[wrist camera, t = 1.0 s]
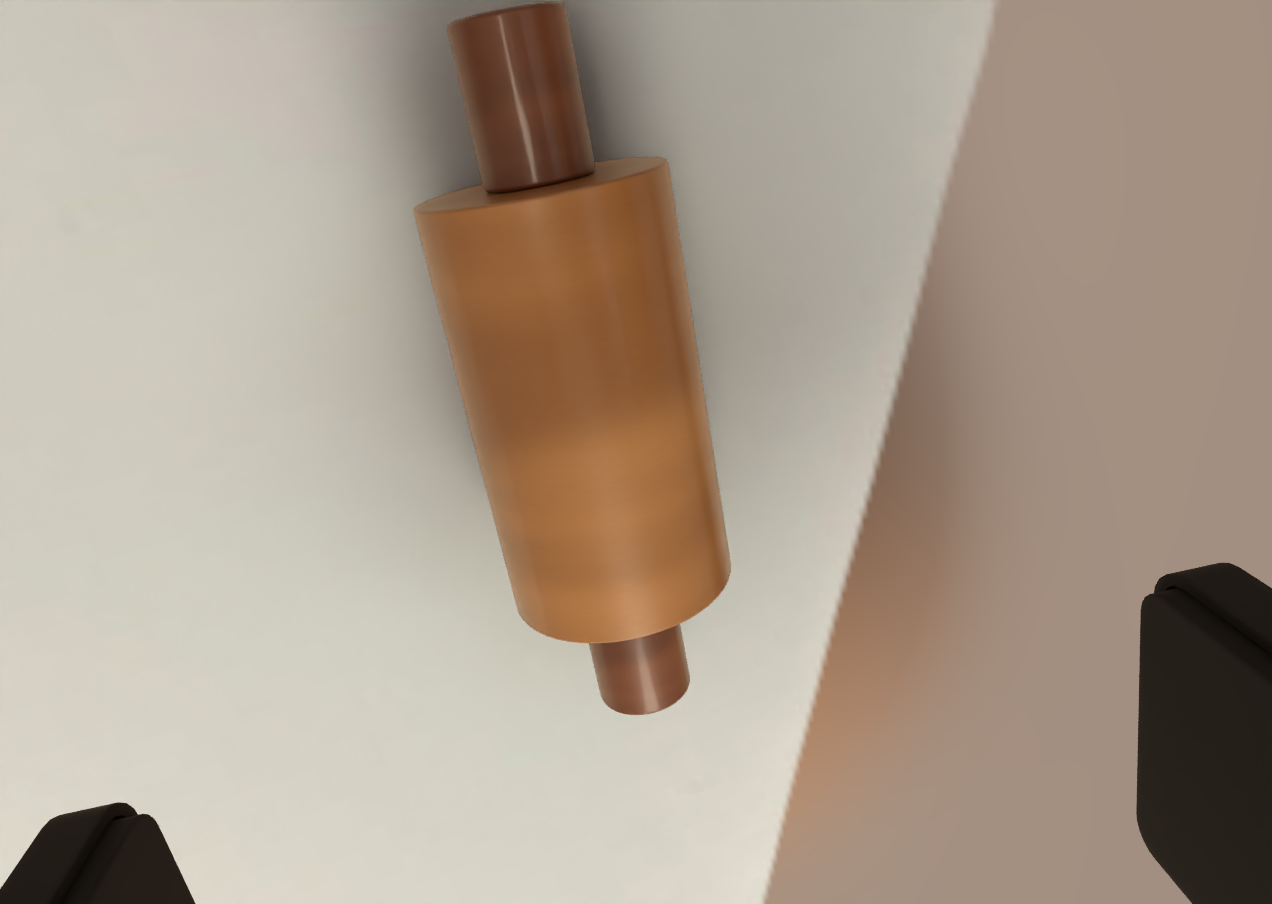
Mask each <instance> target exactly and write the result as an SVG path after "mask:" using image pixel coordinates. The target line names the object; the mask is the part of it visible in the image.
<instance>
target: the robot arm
mask: <svg viewBox="0 0 1272 904" xmlns="http://www.w3.org/2000/svg"><path fill="white" fill-rule="evenodd" d="M1137 822H1138V826H1139V829H1140V833H1141V835H1142V838H1143V840H1144V842H1145V844H1146V846H1147V848H1148V849H1149V851H1150V853H1151V854H1152V855H1153V857H1154V858H1155V859H1156V861H1157V862H1158V863H1159V864H1160V865H1161V867H1162V868H1163V869H1164V870H1165V871H1166V873H1167V874H1168V875H1169V876H1170V877H1171V878H1172V880H1173V881H1174V882H1175V883H1176V885H1177V886H1178V887H1179V888H1180V889H1181V891H1182V892H1183V893H1184V894H1185V895H1186V896H1187V898H1188V899H1189V900H1190V901H1191V902H1192V904H1272V588H1270V587H1269V586H1267V585H1266V584H1264V583H1263V582H1261V581H1260V580H1258V579H1257V578H1255V577H1253V576H1251V575H1250V574H1249V573H1247V572H1246V571H1244V570H1242V569H1241V568H1239V567H1237V566H1235V565H1233V564H1230V563H1217V564H1212V565H1208V566H1203V567H1199V568H1194V569H1190V570H1185V571H1180V572H1176V573H1171V574H1167V575H1165V576H1163V577H1161V578H1160V579H1159V580H1158V582H1157V584H1156V586H1155V590H1154V594H1150V595H1148V596H1146V597H1145V598H1144V600H1143V602H1142V607H1141V626H1140V674H1139V721H1138V767H1137ZM0 904H195V902H194V900H193V898H192V896H191V893H190V891H189V889H188V887H187V885H186V883H185V881H184V879H183V876H182V874H181V872H180V870H179V868H178V866H177V864H176V862H175V860H174V857H173V855H172V853H171V851H170V849H169V847H168V845H167V843H166V841H165V838H164V836H163V834H162V832H161V830H160V828H159V826H158V824H157V823H156V821H155V819H154V818H152V817H151V816H150V815H148V814H140V815H138V814H137V813H136V811H135V809H134V808H132V807H131V806H130V805H128V804H127V803H114V804H109V805H104V806H100V807H95V808H91V809H86V810H81V811H77V812H72V813H68V814H63V815H59V816H57V817H55V818H53V819H50V820H49V821H48V823H47V824H46V825H45V826H44V827H43V828H42V829H41V831H40V832H39V834H38V835H37V836H36V838H35V839H34V841H33V842H32V844H31V845H30V847H29V848H28V850H27V851H26V853H25V854H24V855H23V857H22V858H21V860H20V861H19V863H18V864H17V866H16V867H15V869H14V870H13V871H12V873H11V874H10V876H9V877H8V879H7V880H6V882H5V883H4V885H3V886H2V887H1V889H0Z"/></svg>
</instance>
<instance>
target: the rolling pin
mask: <svg viewBox="0 0 1272 904" xmlns="http://www.w3.org/2000/svg"><path fill="white" fill-rule="evenodd" d="M447 33H448V37H449V42H450V46H451V50H452V55H453V59H454V63H455V68H456V72H457V76H458V81H459V85H460V89H461V93H462V98H463V102H464V106H465V111H466V115H467V119H468V124H469V128H470V132H471V137H472V141H473V145H474V150H475V154H476V158H477V163H478V167H479V171H480V176H481V180H482V185H478V186H474V187H470V188H466V189H462V190H458V191H455V192H451V193H448V194H445V195H441V196H438V197H435V198H432V199H430V200H427V201H425V202H423V203H421V204H419V205H417V206H416V207H415V208H414V210H413V212H414V216H415V220H416V224H417V228H418V231H419V235H420V239H421V243H422V247H423V251H424V254H425V258H426V262H427V266H428V270H429V273H430V277H431V281H432V285H433V289H434V292H435V296H436V300H437V304H438V308H439V312H440V315H441V319H442V323H443V327H444V331H445V334H446V338H447V342H448V346H449V350H450V353H451V357H452V361H453V365H454V369H455V373H456V376H457V380H458V384H459V388H460V392H461V395H462V399H463V403H464V407H465V411H466V415H467V418H468V422H469V426H470V430H471V434H472V437H473V441H474V445H475V449H476V453H477V456H478V460H479V464H480V468H481V472H482V476H483V479H484V483H485V487H486V491H487V495H488V498H489V502H490V506H491V510H492V514H493V517H494V521H495V525H496V529H497V533H498V537H499V540H500V544H501V548H502V552H503V556H504V559H505V563H506V567H507V571H508V575H509V579H510V582H511V586H512V590H513V594H514V598H515V601H516V605H517V609H518V612H519V614H520V616H521V617H522V619H523V620H524V621H525V622H526V623H527V624H528V625H529V626H530V627H531V628H533V629H534V630H536V631H537V632H539V633H542V634H544V635H546V636H549V637H552V638H555V639H558V640H563V641H568V642H577V643H589V646H590V650H591V655H592V659H593V663H594V668H595V672H596V676H597V681H598V685H599V689H600V694H601V697H602V699H603V701H604V702H605V704H606V705H607V706H608V707H610V708H611V709H613V710H615V711H617V712H619V713H623V714H629V715H644V714H650V713H654V712H658V711H661V710H663V709H665V708H667V707H669V706H671V705H673V704H674V703H676V702H677V701H678V700H679V699H680V698H681V697H682V696H683V695H684V694H685V692H686V691H687V689H688V686H689V682H690V675H689V670H688V664H687V659H686V653H685V648H684V643H683V637H682V632H681V626H680V623H682V622H684V621H686V620H688V619H690V618H691V617H693V616H695V615H696V614H698V613H699V612H701V611H702V610H703V609H705V608H706V607H707V606H709V605H710V604H711V603H712V602H713V601H714V600H715V599H716V598H717V597H718V596H719V594H720V593H721V592H722V591H723V589H724V587H725V586H726V584H727V582H728V579H729V576H730V572H731V562H730V555H729V549H728V542H727V536H726V529H725V523H724V517H723V510H722V504H721V497H720V491H719V485H718V478H717V472H716V465H715V459H714V452H713V446H712V440H711V433H710V427H709V420H708V414H707V408H706V401H705V395H704V388H703V382H702V375H701V369H700V363H699V356H698V350H697V343H696V337H695V331H694V324H693V318H692V311H691V305H690V298H689V292H688V286H687V279H686V273H685V266H684V260H683V254H682V247H681V241H680V234H679V228H678V221H677V215H676V209H675V202H674V196H673V189H672V183H671V177H670V170H669V164H668V161H667V159H665V158H661V157H638V158H626V159H617V160H609V161H602V162H594V156H593V151H592V146H591V140H590V135H589V129H588V124H587V119H586V113H585V108H584V102H583V97H582V91H581V86H580V81H579V75H578V70H577V64H576V59H575V54H574V48H573V43H572V37H571V32H570V27H569V21H568V16H567V10H566V7H565V5H564V4H563V3H559V2H546V3H537V4H529V5H523V6H516V7H511V8H505V9H500V10H495V11H490V12H485V13H481V14H476V15H472V16H468V17H465V18H461V19H458V20H455V21H453V22H451V23H450V24H449V25H448V26H447Z"/></svg>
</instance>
